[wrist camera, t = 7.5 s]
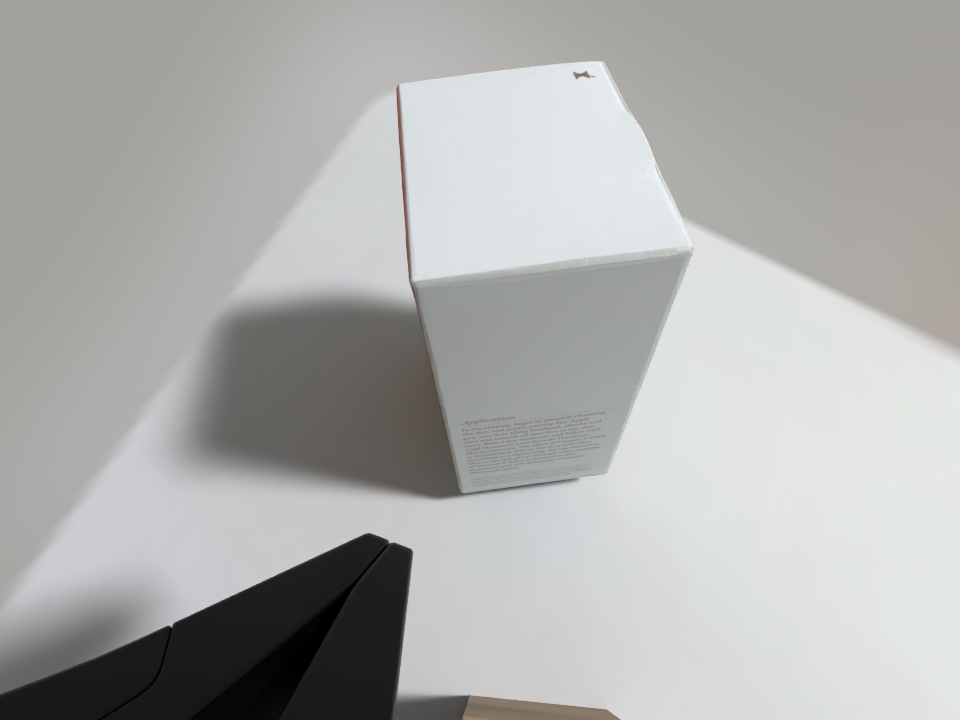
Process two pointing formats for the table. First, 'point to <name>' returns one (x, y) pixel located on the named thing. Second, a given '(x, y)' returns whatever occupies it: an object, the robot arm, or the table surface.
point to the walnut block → (528, 710)
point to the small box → (535, 264)
